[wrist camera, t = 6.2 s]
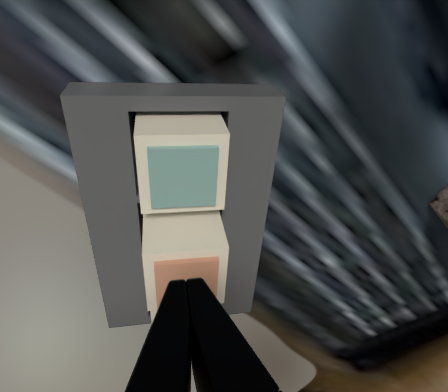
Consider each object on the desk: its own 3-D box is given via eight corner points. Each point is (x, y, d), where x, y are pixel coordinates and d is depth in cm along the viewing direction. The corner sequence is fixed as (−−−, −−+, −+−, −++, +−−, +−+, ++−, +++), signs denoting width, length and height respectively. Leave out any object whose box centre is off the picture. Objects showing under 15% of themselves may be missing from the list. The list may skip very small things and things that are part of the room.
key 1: (217, 107, 17) (231, 136, 14) (214, 175, 19) (225, 213, 16) (136, 107, 16) (133, 138, 13) (142, 178, 19) (141, 217, 16)
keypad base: (273, 84, 18) (285, 96, 16) (244, 290, 27) (250, 312, 25) (69, 81, 16) (59, 95, 14) (111, 303, 25) (109, 327, 23)
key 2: (217, 206, 19) (230, 251, 16) (214, 259, 21) (225, 307, 18) (143, 210, 18) (141, 259, 15) (148, 264, 20) (147, 316, 17)
